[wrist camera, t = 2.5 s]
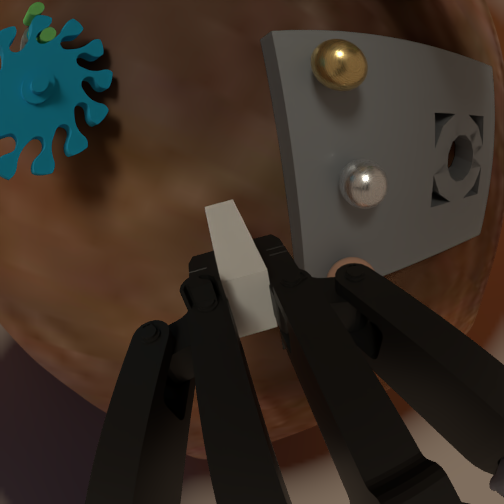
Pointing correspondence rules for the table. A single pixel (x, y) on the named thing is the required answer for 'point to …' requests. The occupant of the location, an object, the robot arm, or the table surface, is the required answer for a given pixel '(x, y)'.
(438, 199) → the plate
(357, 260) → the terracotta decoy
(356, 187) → the steel ball
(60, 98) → the gear
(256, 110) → the table surface
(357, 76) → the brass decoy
